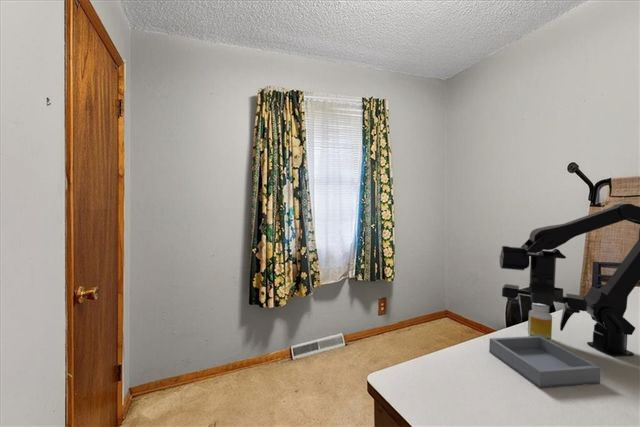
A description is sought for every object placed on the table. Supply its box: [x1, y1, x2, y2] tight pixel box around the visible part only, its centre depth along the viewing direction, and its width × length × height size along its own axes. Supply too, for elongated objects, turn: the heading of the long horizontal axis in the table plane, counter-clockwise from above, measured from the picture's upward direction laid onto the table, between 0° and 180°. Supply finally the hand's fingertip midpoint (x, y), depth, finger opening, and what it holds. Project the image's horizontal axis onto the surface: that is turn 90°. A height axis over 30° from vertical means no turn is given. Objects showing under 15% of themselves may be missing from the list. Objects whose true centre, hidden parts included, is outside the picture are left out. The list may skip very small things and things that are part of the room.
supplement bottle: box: [527, 302, 553, 342], centre depth 82 cm, size 5×5×10 cm
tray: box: [488, 335, 602, 389], centre depth 67 cm, size 15×15×4 cm
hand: (540, 325), depth 82 cm, fingers open, 9 cm apart
